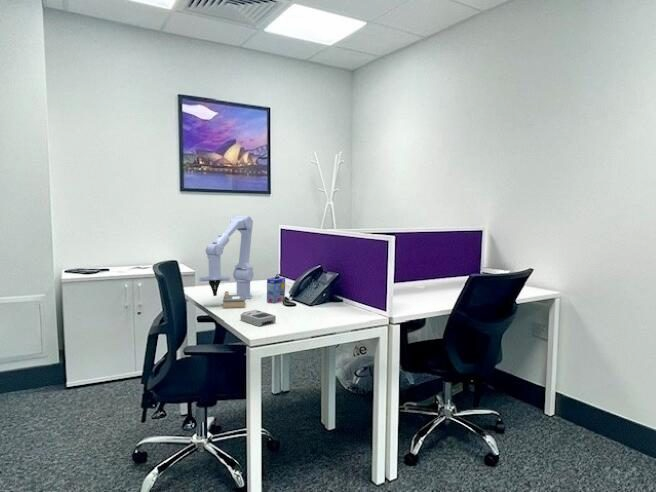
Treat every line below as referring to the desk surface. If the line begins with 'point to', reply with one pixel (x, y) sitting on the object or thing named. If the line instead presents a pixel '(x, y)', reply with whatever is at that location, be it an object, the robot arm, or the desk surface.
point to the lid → (233, 297)
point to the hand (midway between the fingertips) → (215, 295)
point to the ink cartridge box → (275, 289)
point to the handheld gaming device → (257, 317)
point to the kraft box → (234, 304)
